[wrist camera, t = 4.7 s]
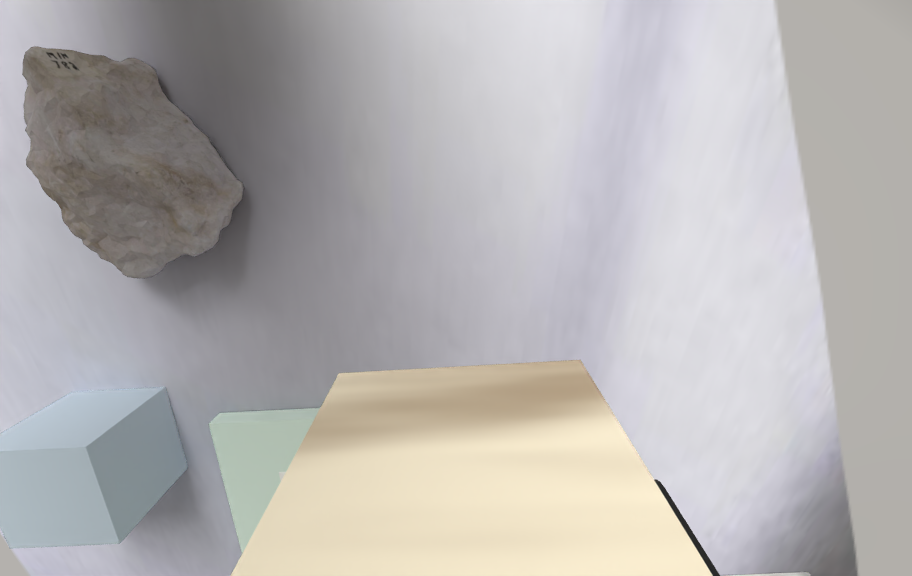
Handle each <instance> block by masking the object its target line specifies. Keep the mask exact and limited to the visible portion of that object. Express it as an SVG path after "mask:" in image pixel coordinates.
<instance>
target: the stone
mask: <svg viewBox="0 0 912 576" xmlns="http://www.w3.org/2000/svg"><path fill="white" fill-rule="evenodd" d="M22 75H23V76H24V77H25V79H26V80H27V84H28V87H27V90H26V92H25V101H24V119H25V122H26V124H27V127H26V129H25V131H26V132H27V134H28V136H29V137H30V139H31V148H30V152H29V154H28V156H27V159H26V165H27V167H28V168H29V169H30V170H32V172H33V174H34V175H35V176H36V177H37V178H38V179H39V182H40V184H41V187H42V189H43V190H44V191H45V193H46V194H47V195H48V196H49V197H50V198H51V199H52V200H54V201H56V202H57V203H58V205H59V207H60V208H61V211H62V218H63V221H64V223H65V224H66V225H67V226H68V227H69V229H70V231H71V232H72V233H73V234H74V235H75V236H77V237H79V238H81V239H82V241H83V244H84V245H86V246H87V247H88V248H89V249H91V250H92V251H94V252H96V253H98V255H99V257H100V258H101V259H104V260H106V261H109V262H111V263H112V264H114V265H115V266H116V267H117V268H118V269H119V270H120V271H121V272H122V273H123V275H125V276H127V277H132V278H148V277H152V276H154V275H156V274H158V273H159V272H160V271H162V270H163V268H164V267H165V266H166V264H167V263H168V262H170V261H173V260H175V259H177V258H178V257H180V256H181V255H184V254H188V255H191V256H193V257H194V256H197V255H200V254H202V253H204V252H207V250H209V249H212V248H213V247H214V246H215V244H216V243H217V242H218V240H219V235H220V231H221V229H223V228H224V227H226V226H228V225H229V223H230V221H231V216H232V212H233V208H234V207H236V206H237V204H238V203H239V202H240V201H241V200H242V193H243V190H244V188H243V184H242V182H241V181H238V180H237V179H236V177H235V176H234V174H233V173H232V172H231V171H230V170H229V169H228V168H227V166H226V165H225V163H224V162H223V160H222V159H221V157H220V156H219V154H218V152H217V150H216V149H215V148H214V147H213V146H212V145H211V144H210V140H209V137H208V136H206V135H205V134H204V133H203V132H201V131H200V130H199V129H198V128H197V127H196V126H195V125H194V124H193V122H192V120H191V119H190V118H189V117H188V116H187V115H185V114H184V113H183V112H182V111H181V110H180V109H179V108H178V107H177V106H175V105H174V104H173V103H171V102H170V101H169V100H168V99H167V97H166V96H165V94H164V93H163V91H162V89H161V87H160V84H159V82H158V77H157V74H156V71H155V69H153V68H152V67H151V66H150V65H148V64H146V63H144V62H142V61H140V60H138V59H136V58H128V59H126V60H124V61H122V62H119V61H114V60H111V59H109V58H107V57H105V56H102V55H89V54H84V53H80V52H77V51H73V50H62V49H46V48H41V47H31V48H30V49H29V50H28V51H26V52H25V55H24V60H23V73H22Z"/></svg>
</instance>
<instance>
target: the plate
mask: <svg viewBox="0 0 912 576" xmlns="http://www.w3.org/2000/svg"><path fill="white" fill-rule="evenodd" d="M319 409H320V408H305V409H286V410H266V411H246V412H227V413H219V414H218V415H217V416H216V417H215V418H214V419H213V420H212V421H211V422H210V423H209V428H210V432H211V436H212V440H213V443H214V447H215V451H216V455H217V459H218V463H219V467H220V471H221V475H222V478H223V482H224V486H225V490H226V494H227V498H228V502H229V506H230V509H231V513H232V517H233V521H234V525H235V529H236V533H237V537H238V541H239V544H240V548H241V552H242V553H243V552H244V550H245V548H246V546H247V544H248V542H249V540H250V538H251V537H252V535H253V533H254V531H255V529H256V527H257V525H258V523H259V522H260V520H261V518H262V516H263V514H264V512H265V510H266V509H267V507H268V505H269V503H270V501H271V499H272V497H273V495H274V494H275V492H276V490H277V488H278V486H279V484H280V482H281V480H282V479H283V477H284V475H285V473H286V471H287V469H288V467H289V466H290V464H291V462H292V460H293V458H294V456H295V454H296V452H297V451H298V449H299V447H300V445H301V443H302V441H303V439H304V437H305V436H306V434H307V432H308V430H309V428H310V426H311V424H312V423H313V421H314V419H315V417H316V415H317V413H318V411H319Z"/></svg>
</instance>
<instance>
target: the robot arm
mask: <svg viewBox="0 0 912 576" xmlns="http://www.w3.org/2000/svg"><path fill="white" fill-rule="evenodd" d="M654 481H655V482H656V484H657V486H658V487H659V489H660V490H661V492H662V494H663V495H664V497H665V499H666V500H667V502H668V503H669V505H670V507H671V508H672V510H673V512H674V513H675V515H676V517H677V518H678V520H679V521H680V523H681V525H682V526H683V528H684V530H685V531H686V533H687V534H688V536H689V538H690V539H691V541H692V543H693V544H694V546H695V547H696V549H697V551H698V552H699V554H700V556H701V557H702V559H703V561H704V562H705V564H706V565H707V567H708V569H709V570H710V572H711V574H712V575H713V576H720V575H719V573H718V572H717V570H716V569H715V567H714V565H713V564H712V562H711V561H710V559H709V557H708V556H707V554H706V553H705V551H704V549H703V548H702V546H701V545H700V543H699V542H698V540H697V538H696V537H695V535H694V534H693V532H692V530H691V529H690V527H689V526H688V524H687V523H686V521H685V519H684V518H683V516H682V515H681V513H680V511H679V510H678V508H677V507H676V505H675V503H674V502H673V500H672V499H671V497H670V496H669V494H668V492H667V491H666V489H665V488H664V486H663V485H662V484H661V482H660V481H658V480H654Z"/></svg>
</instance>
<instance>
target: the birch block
mask: <svg viewBox="0 0 912 576" xmlns="http://www.w3.org/2000/svg"><path fill="white" fill-rule="evenodd" d="M231 576H713V575H712V574H711V572H710V570H709V569H708V567H707V565H706V564H705V562H704V561H703V559H702V557H701V556H700V554H699V552H698V551H697V549H696V547H695V546H694V544H693V543H692V541H691V539H690V538H689V536H688V534H687V533H686V531H685V530H684V528H683V526H682V525H681V523H680V521H679V520H678V518H677V517H676V515H675V513H674V512H673V510H672V508H671V507H670V505H669V503H668V502H667V500H666V499H665V497H664V495H663V494H662V492H661V490H660V489H659V487H658V486H657V484H656V482H655V481H654V479H653V477H652V476H651V474H650V472H649V471H648V469H647V468H646V466H645V464H644V463H643V461H642V459H641V458H640V456H639V455H638V453H637V451H636V450H635V448H634V446H633V445H632V443H631V442H630V440H629V438H628V437H627V435H626V433H625V432H624V430H623V428H622V427H621V425H620V424H619V422H618V420H617V419H616V417H615V415H614V414H613V412H612V411H611V409H610V407H609V406H608V404H607V402H606V401H605V399H604V398H603V396H602V394H601V393H600V391H599V389H598V388H597V386H596V384H595V383H594V381H593V380H592V378H591V376H590V375H589V373H588V371H587V370H586V368H585V367H584V365H583V363H582V362H581V360H568V361H550V362H532V363H514V364H496V365H478V366H460V367H442V368H424V369H406V370H388V371H370V372H352V373H339V374H338V376H337V378H336V380H335V381H334V383H333V385H332V387H331V389H330V391H329V393H328V394H327V396H326V398H325V400H324V402H323V404H322V406H321V408H320V409H319V411H318V413H317V415H316V417H315V419H314V421H313V423H312V424H311V426H310V428H309V430H308V432H307V434H306V436H305V437H304V439H303V441H302V443H301V445H300V447H299V449H298V451H297V452H296V454H295V456H294V458H293V460H292V462H291V464H290V466H289V467H288V469H287V471H286V473H285V475H284V477H283V479H282V480H281V482H280V484H279V486H278V488H277V490H276V492H275V494H274V495H273V497H272V499H271V501H270V503H269V505H268V507H267V509H266V510H265V512H264V514H263V516H262V518H261V520H260V522H259V523H258V525H257V527H256V529H255V531H254V533H253V535H252V537H251V538H250V540H249V542H248V544H247V546H246V548H245V550H244V552H243V553H242V555H241V557H240V559H239V561H238V563H237V565H236V566H235V568H234V570H233V572H232V574H231Z"/></svg>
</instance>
